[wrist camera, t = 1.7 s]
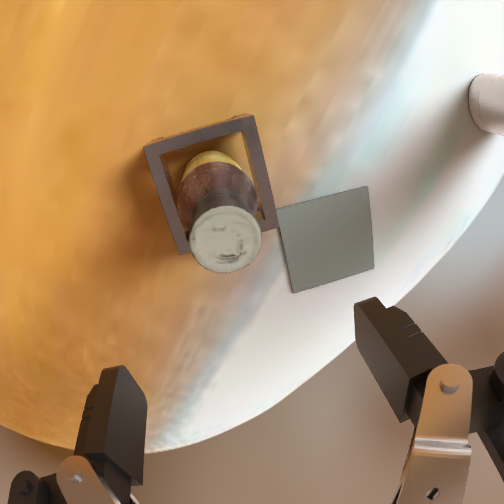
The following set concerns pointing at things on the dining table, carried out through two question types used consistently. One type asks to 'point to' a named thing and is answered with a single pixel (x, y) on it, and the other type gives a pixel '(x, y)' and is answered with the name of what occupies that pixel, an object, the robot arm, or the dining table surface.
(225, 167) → the sauce bottle
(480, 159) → the dining table surface
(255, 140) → the grey square frame stand
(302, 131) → the dining table surface
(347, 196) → the slate mat
